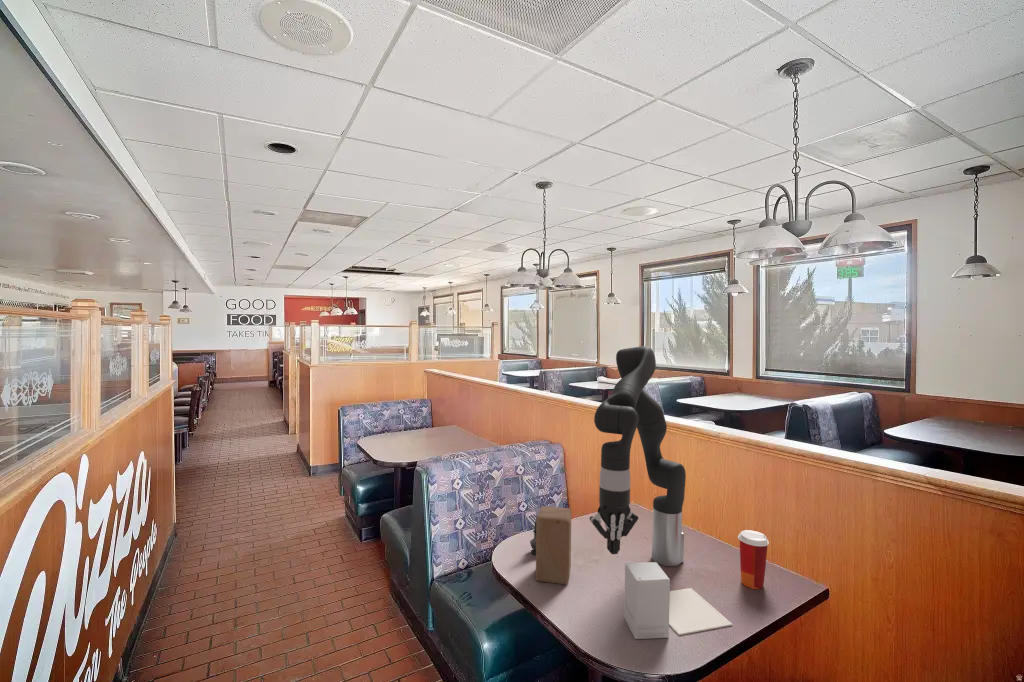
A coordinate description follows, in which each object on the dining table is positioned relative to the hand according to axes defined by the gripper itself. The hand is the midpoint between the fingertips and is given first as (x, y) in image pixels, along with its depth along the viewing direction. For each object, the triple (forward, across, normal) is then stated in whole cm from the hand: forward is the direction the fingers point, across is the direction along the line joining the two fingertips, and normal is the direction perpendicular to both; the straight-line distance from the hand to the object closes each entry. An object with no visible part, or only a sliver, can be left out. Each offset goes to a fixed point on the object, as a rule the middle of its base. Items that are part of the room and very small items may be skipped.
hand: (613, 552), depth 116 cm
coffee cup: (+21, -52, -10) cm, 57 cm away
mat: (+21, -24, -4) cm, 32 cm away
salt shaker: (+21, +5, -44) cm, 49 cm away
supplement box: (+21, -10, 0) cm, 23 cm away
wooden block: (+21, +5, -29) cm, 36 cm away
